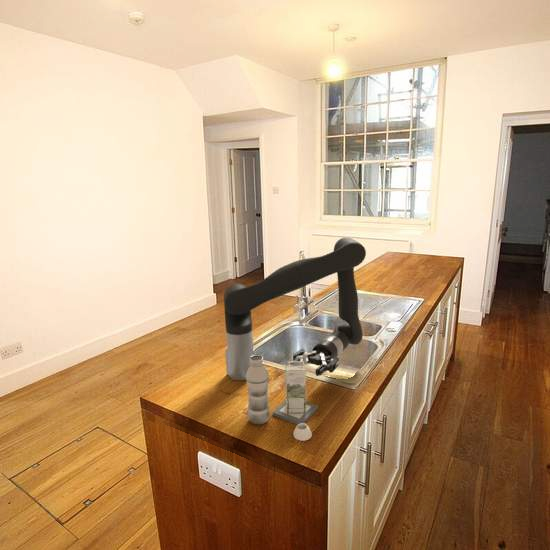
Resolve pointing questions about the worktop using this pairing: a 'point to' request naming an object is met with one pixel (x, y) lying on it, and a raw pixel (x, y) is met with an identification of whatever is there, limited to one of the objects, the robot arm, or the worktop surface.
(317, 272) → the robot arm
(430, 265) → the worktop surface
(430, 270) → the worktop surface
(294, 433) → the white jar
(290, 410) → the syrup box
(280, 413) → the plate
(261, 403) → the plastic bottle
